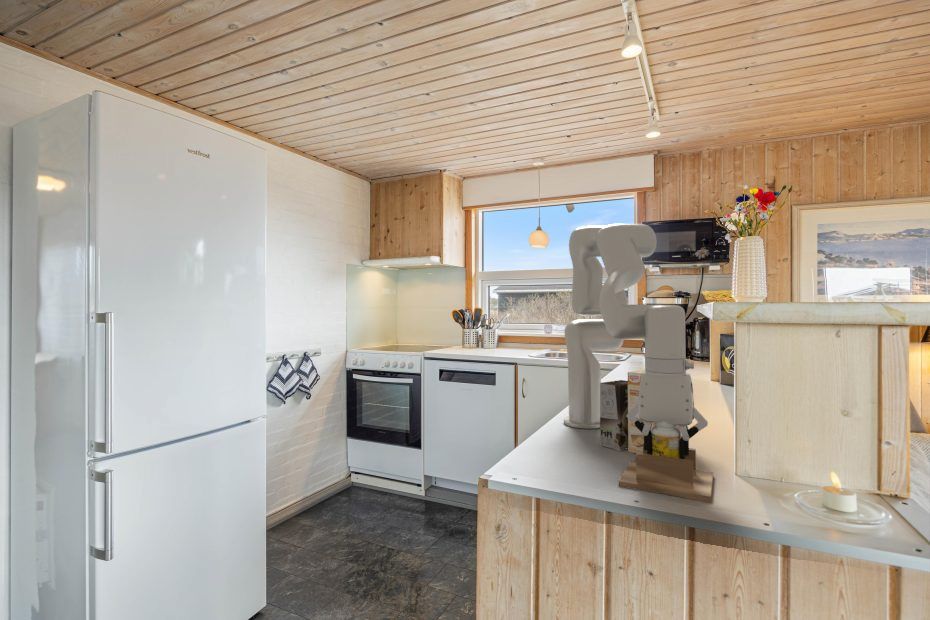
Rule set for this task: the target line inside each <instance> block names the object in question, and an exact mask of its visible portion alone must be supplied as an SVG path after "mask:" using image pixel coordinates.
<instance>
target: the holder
mask: <svg viewBox="0 0 930 620" xmlns="http://www.w3.org/2000/svg"><path fill="white" fill-rule="evenodd" d="M696 458H697V451H696V448H692V447H689V456H685V459H678V458H671V457H664V456H656V455H649V454H647V450H644V443H643V454H642V453H637V454H636V453H635V460H634V459H633V460H630V462H629V463H628V465H627V467H626V468H625V469H624V471H623V473H622V474H621V476H620V477H619V479H618V480H617V481H618V482H617V486H618V487H623V488H627V489H634V490H638V491H643V492H650V493H657V494H662V495H667V496H672V497H678V498H679V497H680V498H685V499H690V500H695V501H696V500H697V501H701V502H706V503H712V493H713V492H712V491H713V483H714V472H713V471H709V470H708V471H706V470H701V469H697V459H696Z"/></svg>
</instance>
